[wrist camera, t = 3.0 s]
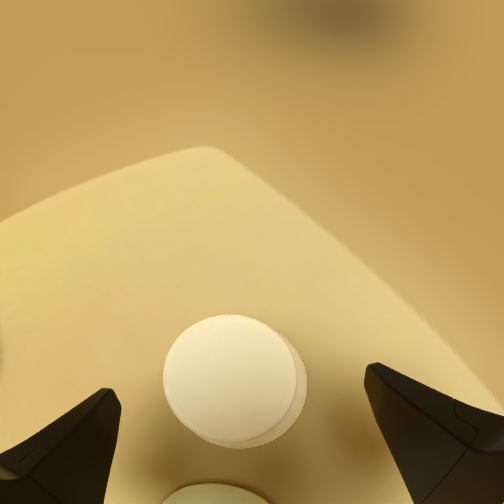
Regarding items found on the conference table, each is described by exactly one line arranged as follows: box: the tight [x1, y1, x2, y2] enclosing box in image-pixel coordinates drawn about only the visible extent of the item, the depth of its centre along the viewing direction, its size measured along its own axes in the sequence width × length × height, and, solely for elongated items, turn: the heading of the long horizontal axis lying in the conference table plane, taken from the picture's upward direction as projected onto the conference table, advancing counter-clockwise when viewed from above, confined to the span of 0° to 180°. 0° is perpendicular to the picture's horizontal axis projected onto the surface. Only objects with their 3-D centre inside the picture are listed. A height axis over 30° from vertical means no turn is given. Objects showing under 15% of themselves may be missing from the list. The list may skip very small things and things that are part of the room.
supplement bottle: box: [163, 314, 308, 449], centre depth 11 cm, size 5×5×10 cm
